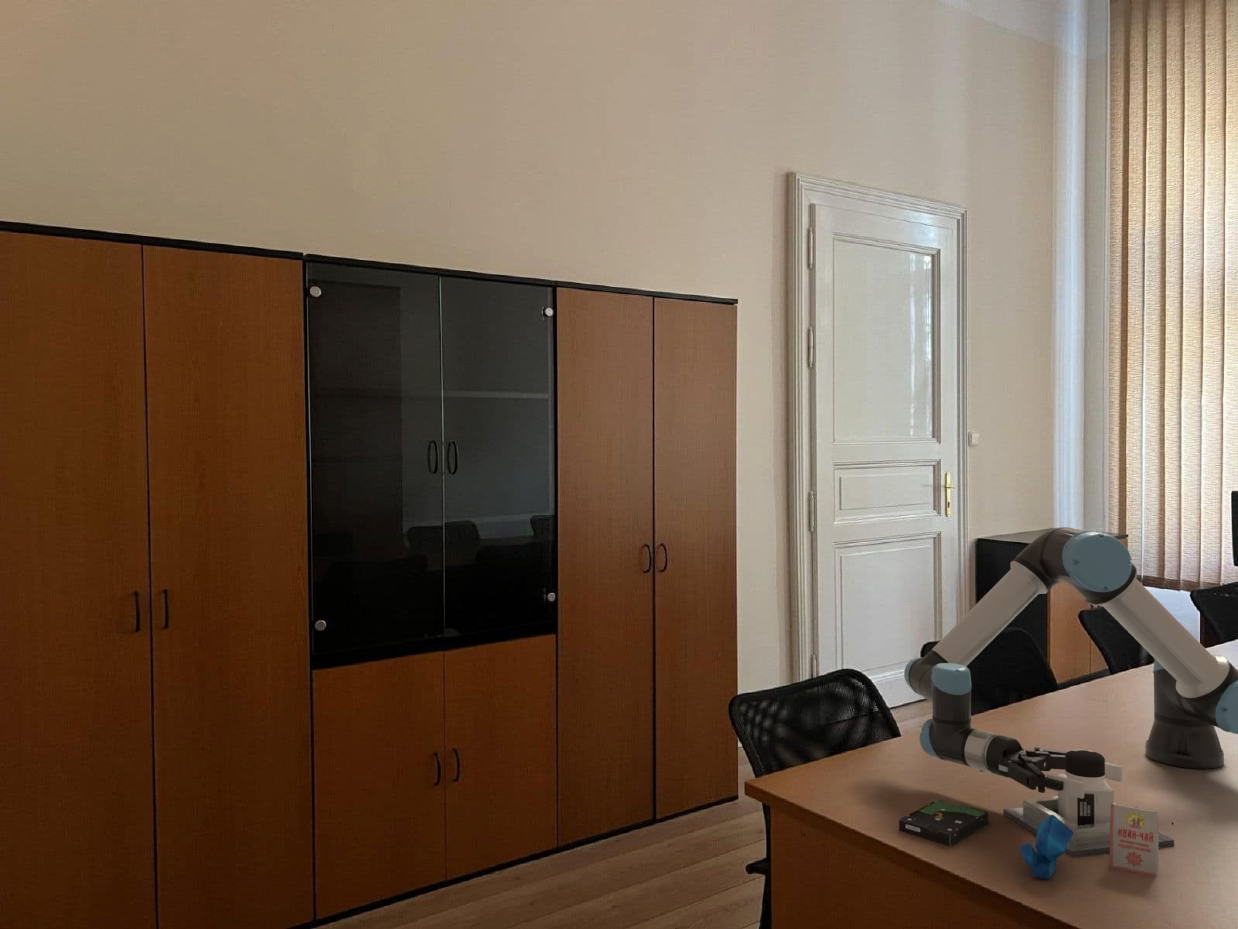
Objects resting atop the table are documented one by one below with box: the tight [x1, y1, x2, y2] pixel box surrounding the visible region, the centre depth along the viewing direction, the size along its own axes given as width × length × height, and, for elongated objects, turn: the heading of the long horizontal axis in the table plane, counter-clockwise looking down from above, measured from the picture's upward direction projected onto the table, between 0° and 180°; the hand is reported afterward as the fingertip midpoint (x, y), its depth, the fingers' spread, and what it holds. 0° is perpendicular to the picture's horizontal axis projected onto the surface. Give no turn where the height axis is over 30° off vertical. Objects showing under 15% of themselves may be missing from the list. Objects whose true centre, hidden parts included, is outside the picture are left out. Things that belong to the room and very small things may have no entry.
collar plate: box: [1002, 795, 1175, 858], centre depth 179 cm, size 20×20×4 cm
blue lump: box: [1019, 815, 1073, 881], centre depth 161 cm, size 7×9×12 cm
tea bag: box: [1109, 803, 1160, 878], centre depth 162 cm, size 4×7×10 cm, turn 56°
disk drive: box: [898, 799, 989, 847], centre depth 181 cm, size 10×3×15 cm
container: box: [1057, 748, 1115, 826], centre depth 179 cm, size 8×8×13 cm
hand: (1102, 782), depth 176 cm, fingers open, 13 cm apart
